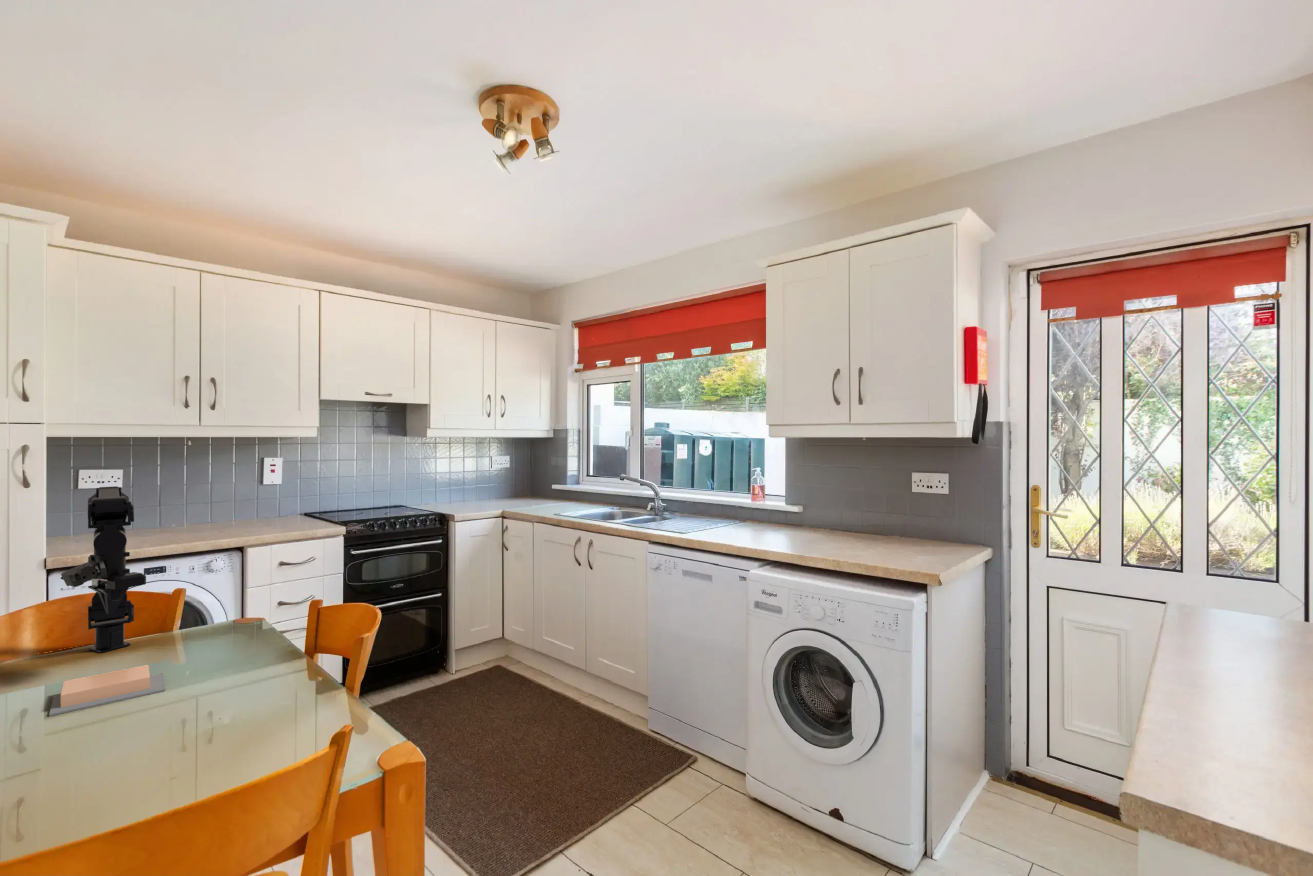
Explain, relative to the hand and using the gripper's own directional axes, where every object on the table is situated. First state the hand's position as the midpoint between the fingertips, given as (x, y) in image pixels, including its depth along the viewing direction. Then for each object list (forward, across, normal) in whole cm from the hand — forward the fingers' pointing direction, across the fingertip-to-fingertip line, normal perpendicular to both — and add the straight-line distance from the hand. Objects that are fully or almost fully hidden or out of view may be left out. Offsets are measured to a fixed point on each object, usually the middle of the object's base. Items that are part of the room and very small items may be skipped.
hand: (110, 613), depth 146 cm
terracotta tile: (+11, +13, -6) cm, 18 cm away
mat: (+13, +19, -9) cm, 25 cm away
